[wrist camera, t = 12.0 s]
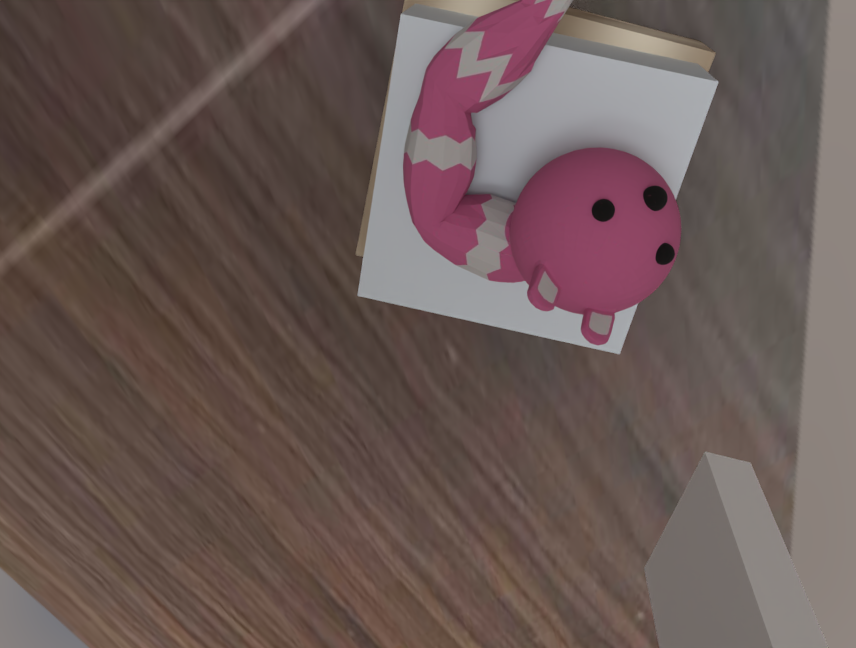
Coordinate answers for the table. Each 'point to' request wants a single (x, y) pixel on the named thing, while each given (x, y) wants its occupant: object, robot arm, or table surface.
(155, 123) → the table surface
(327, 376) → the table surface
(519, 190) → the upper block
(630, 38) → the lower slab
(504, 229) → the toy
